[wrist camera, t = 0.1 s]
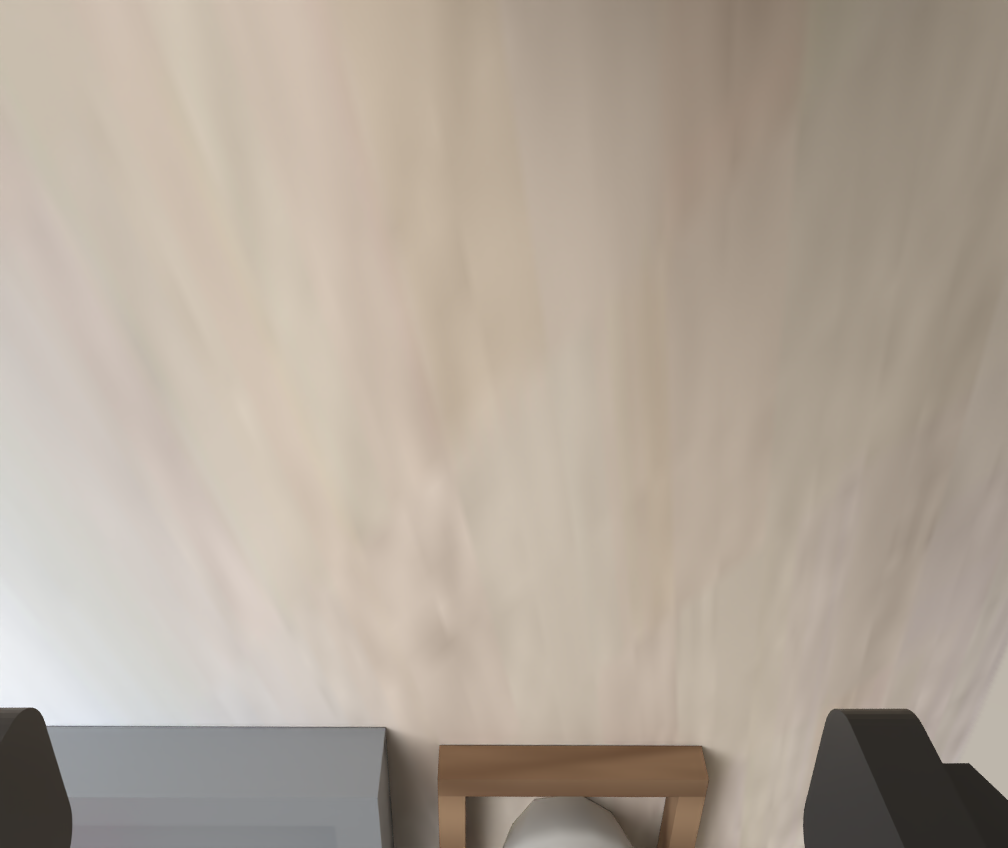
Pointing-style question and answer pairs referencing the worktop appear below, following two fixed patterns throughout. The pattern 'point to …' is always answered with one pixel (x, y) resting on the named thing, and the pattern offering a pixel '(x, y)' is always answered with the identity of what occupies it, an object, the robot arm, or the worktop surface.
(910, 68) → the worktop surface
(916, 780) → the robot arm
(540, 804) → the salt shaker
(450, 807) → the wooden square frame
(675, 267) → the worktop surface
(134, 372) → the worktop surface
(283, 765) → the tray
